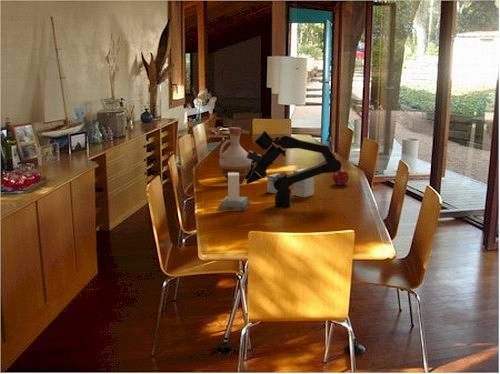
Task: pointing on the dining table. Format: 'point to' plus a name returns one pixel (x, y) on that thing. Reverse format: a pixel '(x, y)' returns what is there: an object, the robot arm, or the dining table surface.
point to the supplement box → (304, 186)
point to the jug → (234, 156)
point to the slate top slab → (234, 202)
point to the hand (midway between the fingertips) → (245, 181)
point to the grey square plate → (234, 207)
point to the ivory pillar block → (233, 186)
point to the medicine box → (269, 183)
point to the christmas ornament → (340, 177)
